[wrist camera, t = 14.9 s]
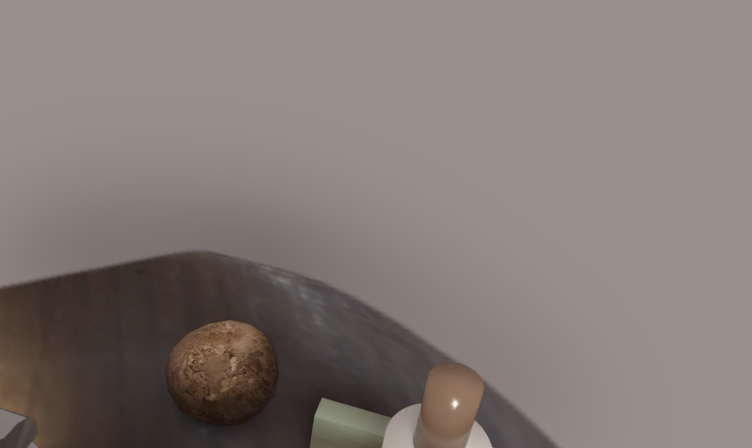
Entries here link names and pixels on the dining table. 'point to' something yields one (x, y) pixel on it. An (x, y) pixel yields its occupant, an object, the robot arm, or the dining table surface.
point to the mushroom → (222, 373)
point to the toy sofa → (347, 427)
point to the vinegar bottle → (442, 413)
